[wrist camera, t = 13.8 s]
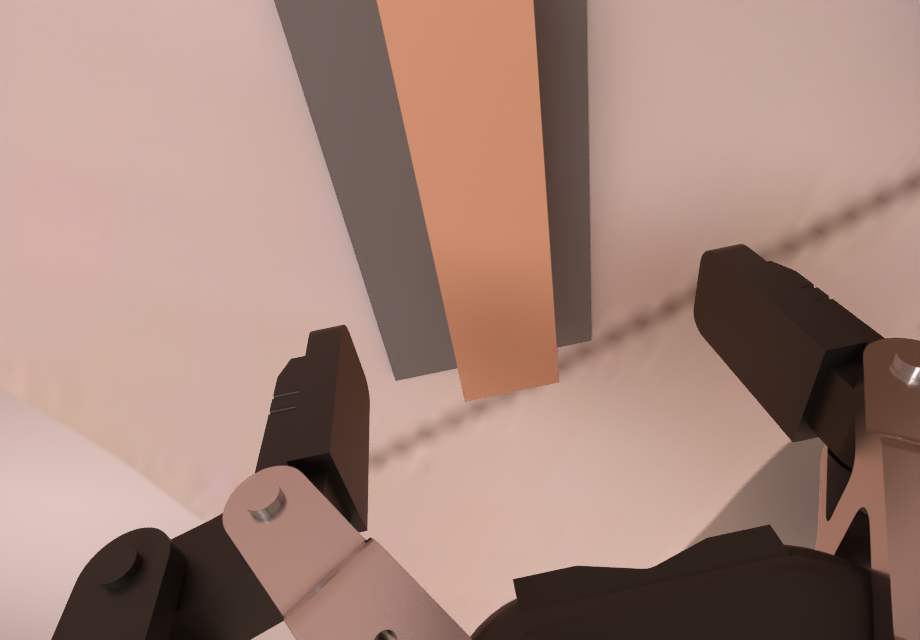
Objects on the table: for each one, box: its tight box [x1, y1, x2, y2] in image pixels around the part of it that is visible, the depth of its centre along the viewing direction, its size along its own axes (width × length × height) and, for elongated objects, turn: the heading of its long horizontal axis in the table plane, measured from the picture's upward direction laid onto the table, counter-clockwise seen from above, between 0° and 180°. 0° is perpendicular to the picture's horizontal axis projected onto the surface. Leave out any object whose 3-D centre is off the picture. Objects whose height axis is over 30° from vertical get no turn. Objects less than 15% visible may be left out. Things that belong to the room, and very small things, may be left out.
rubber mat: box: [274, 0, 591, 381], centre depth 23 cm, size 26×12×1 cm, turn 9°
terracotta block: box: [377, 0, 559, 402], centre depth 20 cm, size 16×4×8 cm, turn 9°
